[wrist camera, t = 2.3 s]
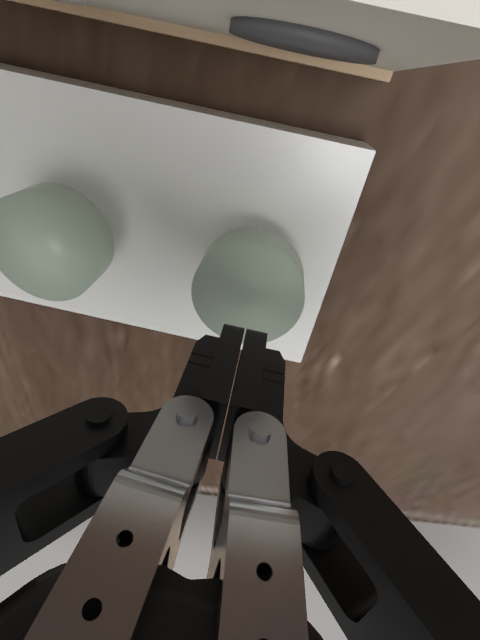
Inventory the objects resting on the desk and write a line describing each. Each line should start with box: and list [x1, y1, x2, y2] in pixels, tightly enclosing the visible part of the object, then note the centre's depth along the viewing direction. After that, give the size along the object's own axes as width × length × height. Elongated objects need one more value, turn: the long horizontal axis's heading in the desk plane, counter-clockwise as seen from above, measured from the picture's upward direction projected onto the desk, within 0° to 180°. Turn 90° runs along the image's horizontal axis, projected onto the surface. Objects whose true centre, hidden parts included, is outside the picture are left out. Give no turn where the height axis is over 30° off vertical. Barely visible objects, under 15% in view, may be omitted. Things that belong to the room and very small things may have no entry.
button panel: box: [0, 63, 376, 363], centre depth 20 cm, size 26×12×3 cm, turn 80°
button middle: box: [0, 182, 114, 301], centre depth 16 cm, size 5×5×2 cm
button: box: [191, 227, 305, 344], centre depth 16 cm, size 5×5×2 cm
